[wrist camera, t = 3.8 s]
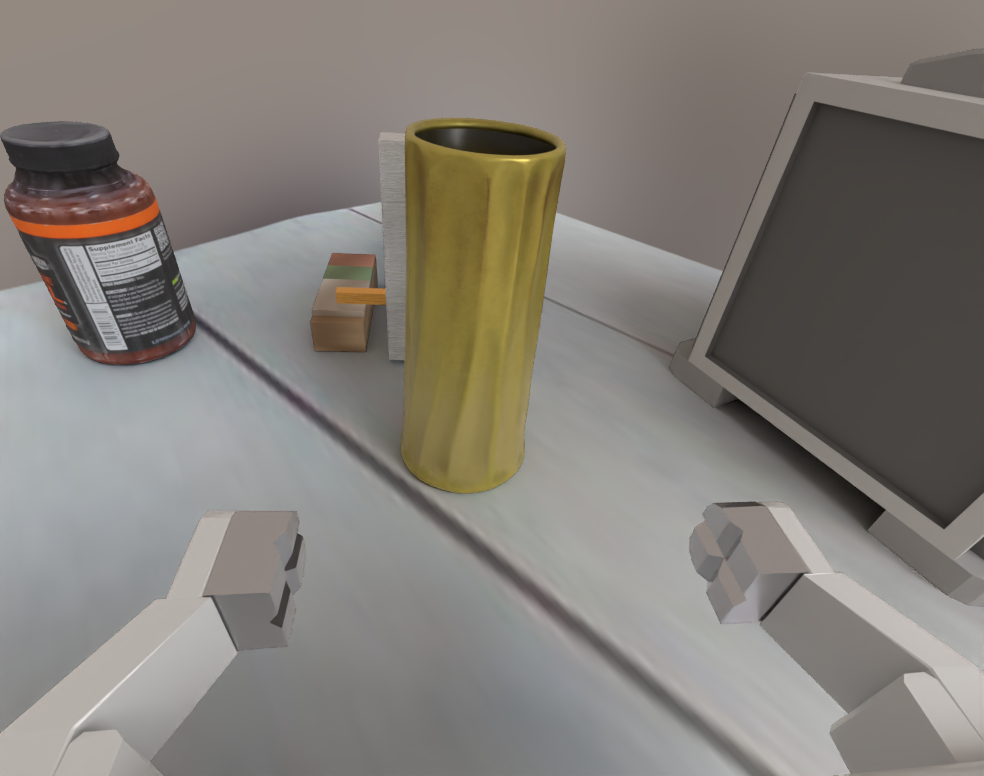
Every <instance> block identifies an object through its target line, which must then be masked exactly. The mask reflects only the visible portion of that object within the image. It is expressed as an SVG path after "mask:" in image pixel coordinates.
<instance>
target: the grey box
mask: <svg viewBox="0 0 984 776" xmlns="http://www.w3.org/2000/svg"><path fill="white" fill-rule="evenodd" d="M670 370H671V373H672V374H673V375H674V376H675V377H676V378H677V379H679V380H680V381H681V382H682V383H684V384H685V385H686V386H687V387H689V388H690V389H691V390H692V391H694V392H695V393H696V394H697V395H699V396H700V397H701V398H702V399H704V400H705V401H706V402H707V403H709V404H710V405H711V406H712V407H717V406H719V405H722V404H725V403H728V402H731V401H734V400H737V399H740V400H741V401H743V402H744V403H745V404H746V405H748V406H749V407H750V408H752V409H753V410H754V411H756V412H757V413H758V414H760V415H761V416H762V417H764V418H765V419H766V420H768V421H769V422H770V423H772V424H773V425H774V426H776V427H777V428H778V429H780V430H781V431H782V432H784V433H785V434H786V435H788V436H789V437H790V438H792V439H793V440H794V441H796V442H797V443H798V444H799V445H801V446H802V447H803V448H805V449H806V450H807V451H809V452H810V453H811V454H813V455H814V456H815V457H817V458H818V459H819V460H821V461H822V462H823V463H825V464H826V465H827V466H829V467H830V468H831V469H833V470H834V471H835V472H837V473H838V474H839V475H841V476H842V477H843V478H845V479H846V480H847V481H849V482H850V483H851V484H852V485H854V486H855V487H856V488H858V489H859V490H860V491H862V492H863V493H864V494H866V495H867V496H868V497H870V498H871V499H872V500H874V501H875V502H876V503H878V504H879V505H880V506H882V507H883V508H884V509H886V510H885V511H884V513H883V514H882V515H881V516H880V517H879V518H878V519H877V520H876V521H875V522H874V523H873V525H872V526H871V527H870V528H869V529H868V530H867V531H868V532H869V533H870V534H871V535H873V536H874V537H875V538H876V539H878V540H879V541H880V542H881V543H883V544H884V545H885V546H886V547H887V548H889V549H890V550H891V551H892V552H894V553H895V554H896V555H897V556H899V557H900V558H901V559H902V560H904V561H905V562H906V563H907V564H909V565H910V566H911V567H912V568H914V569H915V570H916V571H917V572H919V573H920V574H921V575H922V576H924V577H925V578H926V579H927V580H928V581H930V582H931V583H932V584H933V585H935V586H936V587H937V588H938V589H940V590H941V591H942V592H943V593H945V594H946V595H947V596H949V597H951V598H953V599H956V600H958V601H960V602H962V603H964V604H967V605H973V606H983V607H984V48H983V49H972V50H967V51H962V52H956V53H951V54H947V55H941V56H936V57H930V58H925V59H920V60H917V61H915V62H913V63H911V64H910V65H909V67H908V69H907V71H906V73H905V75H904V77H903V78H896V77H878V76H859V75H842V74H824V73H805V74H804V77H803V79H802V82H801V85H800V87H799V89H798V92H797V94H795V95H794V97H793V100H792V102H791V105H790V107H789V110H788V112H787V115H786V117H785V120H784V122H783V125H782V127H781V130H780V132H779V135H778V137H777V140H776V142H775V145H774V147H773V149H772V152H771V154H770V157H769V160H768V162H767V164H766V167H765V169H764V172H763V174H762V177H761V179H760V181H759V184H758V186H757V189H756V192H755V194H754V197H753V199H752V202H751V204H750V206H749V209H748V211H747V214H746V216H745V219H744V221H743V223H742V226H741V228H740V231H739V233H738V236H737V238H736V241H735V243H734V246H733V248H732V251H731V253H730V255H729V258H728V260H727V263H726V265H725V268H724V270H723V273H722V275H721V278H720V280H719V283H718V285H717V288H716V290H715V293H714V295H713V297H712V300H711V302H710V305H709V307H708V310H707V312H706V315H705V317H704V320H703V322H702V325H701V327H700V330H699V332H698V335H697V337H696V338H695V339H691V340H687V341H683V342H680V344H679V346H678V347H677V349H676V352H675V355H674V357H673V360H672V362H671V365H670Z"/></svg>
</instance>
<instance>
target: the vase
mask: <svg viewBox="0 0 984 776" xmlns="http://www.w3.org/2000/svg"><path fill="white" fill-rule="evenodd" d="M565 155H566V148H565V144H564V142H563V141H562V140H561V139H560V138H559V137H557V136H555V135H553V134H551V133H548V132H546V131H543V130H540V129H537V128H533V127H529V126H525V125H520V124H515V123H508V122H501V121H494V120H486V119H485V120H484V119H474V118H438V119H427V120H421V121H418V122H415V123H412V124H410V125H409V126H408V127H407V128H406V131H405V198H406V316H405V362H404V422H403V430H402V436H401V454H402V457H403V460H404V462H405V464H406V466H407V467H408V469H409V470H410V471H411V472H412V473H413V474H414V475H415V476H416V477H417V478H418V479H420V480H421V481H423V482H425V483H426V484H428V485H431V486H433V487H436V488H439V489H442V490H446V491H449V492H454V493H477V492H483V491H487V490H490V489H493V488H495V487H497V486H499V485H501V484H503V483H504V482H506V481H507V480H508V479H510V478H511V477H512V476H513V475H514V474H515V473H516V472H517V471H518V469H519V468H520V466H521V464H522V461H523V458H524V450H525V442H524V428H525V421H526V416H527V410H528V403H529V394H530V385H531V377H532V370H533V364H534V358H535V352H536V346H537V339H538V333H539V326H540V319H541V312H542V305H543V298H544V291H545V284H546V277H547V270H548V263H549V255H550V248H551V241H552V234H553V227H554V221H555V215H556V208H557V203H558V196H559V191H560V185H561V179H562V174H563V168H564V163H565Z"/></svg>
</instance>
